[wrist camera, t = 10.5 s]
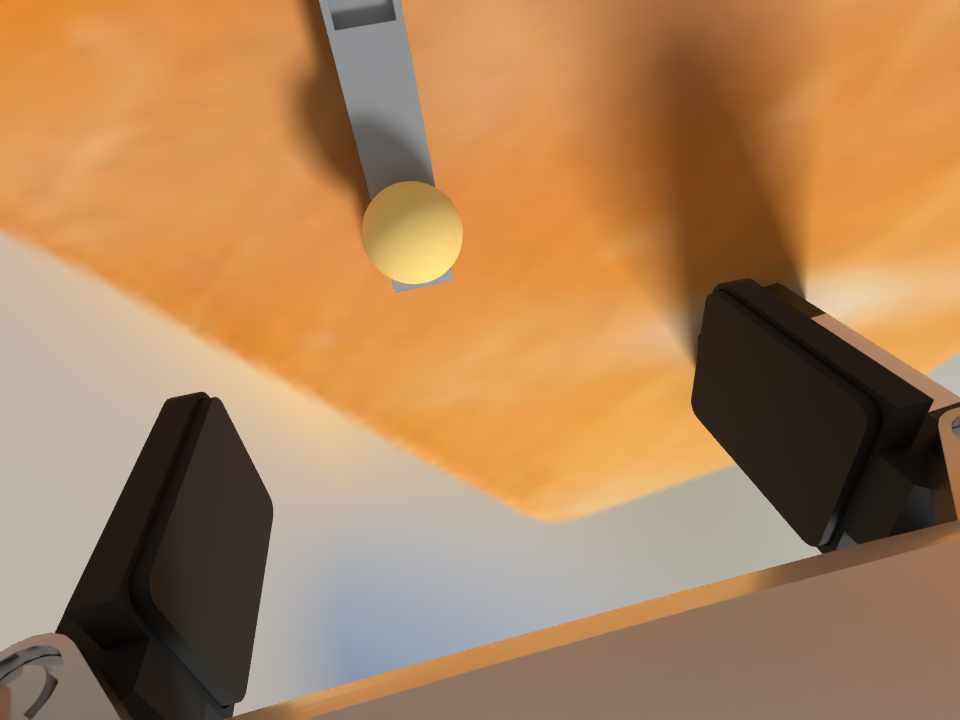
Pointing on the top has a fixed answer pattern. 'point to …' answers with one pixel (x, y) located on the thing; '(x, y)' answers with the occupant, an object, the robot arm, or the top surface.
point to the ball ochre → (412, 232)
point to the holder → (380, 95)
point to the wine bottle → (872, 352)
